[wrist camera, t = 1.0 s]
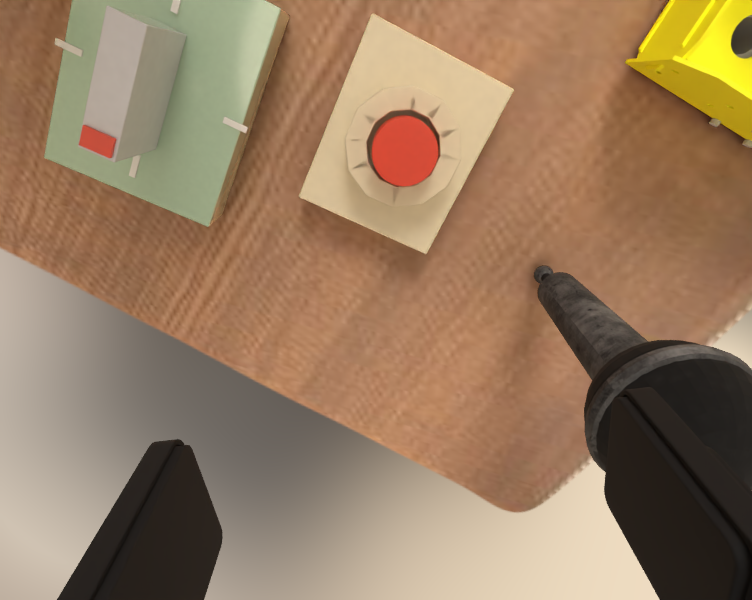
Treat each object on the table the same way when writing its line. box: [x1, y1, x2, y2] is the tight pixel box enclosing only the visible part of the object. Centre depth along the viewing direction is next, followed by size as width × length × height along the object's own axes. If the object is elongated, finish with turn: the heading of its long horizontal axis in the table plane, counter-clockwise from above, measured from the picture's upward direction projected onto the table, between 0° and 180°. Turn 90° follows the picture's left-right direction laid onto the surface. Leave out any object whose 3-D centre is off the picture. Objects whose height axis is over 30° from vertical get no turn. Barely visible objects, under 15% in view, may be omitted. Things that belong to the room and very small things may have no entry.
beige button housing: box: [299, 13, 514, 254], centre depth 29 cm, size 11×9×4 cm
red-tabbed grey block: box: [78, 6, 187, 162], centre depth 24 cm, size 6×2×5 cm, turn 155°
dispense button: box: [372, 115, 438, 186], centre depth 27 cm, size 4×4×2 cm
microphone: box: [534, 266, 752, 490], centre depth 26 cm, size 7×7×20 cm
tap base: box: [44, 0, 290, 227], centre depth 28 cm, size 13×11×3 cm
